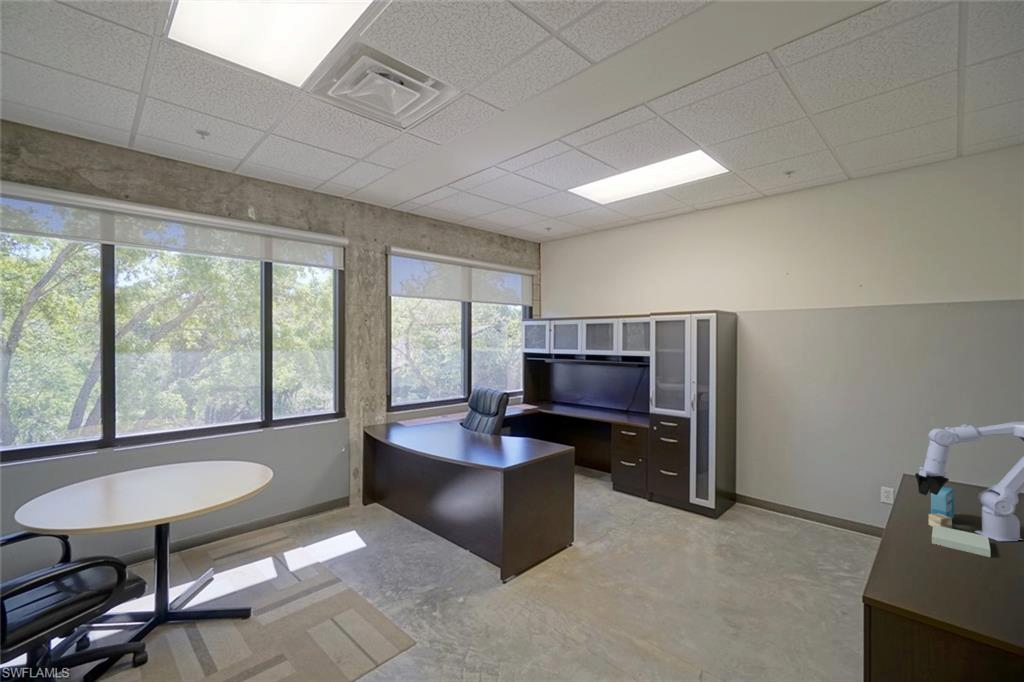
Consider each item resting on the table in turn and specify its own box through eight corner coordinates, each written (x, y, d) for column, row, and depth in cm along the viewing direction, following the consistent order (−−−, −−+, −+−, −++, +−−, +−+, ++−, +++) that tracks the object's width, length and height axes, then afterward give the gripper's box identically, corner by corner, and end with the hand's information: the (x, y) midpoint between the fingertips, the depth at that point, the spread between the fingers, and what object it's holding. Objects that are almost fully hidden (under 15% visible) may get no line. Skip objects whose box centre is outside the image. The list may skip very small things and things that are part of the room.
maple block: (939, 525, 170) (939, 513, 170) (951, 530, 165) (951, 518, 165) (928, 525, 169) (928, 513, 169) (940, 530, 165) (940, 518, 165)
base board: (933, 531, 164) (933, 524, 164) (988, 543, 154) (988, 536, 154) (931, 543, 154) (931, 536, 154) (990, 557, 144) (990, 549, 144)
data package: (946, 524, 170) (946, 494, 170) (931, 521, 173) (930, 491, 173) (954, 517, 176) (954, 488, 176) (939, 514, 180) (938, 485, 180)
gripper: (933, 456, 173) (925, 489, 174) (912, 455, 167) (904, 489, 168) (956, 463, 166) (948, 497, 167) (935, 462, 161) (927, 497, 162)
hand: (928, 493), depth 167 cm, fingers open, 7 cm apart
